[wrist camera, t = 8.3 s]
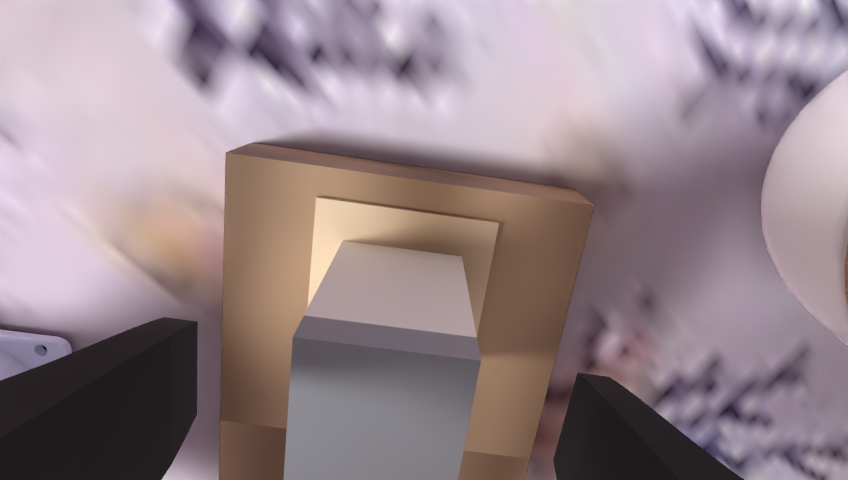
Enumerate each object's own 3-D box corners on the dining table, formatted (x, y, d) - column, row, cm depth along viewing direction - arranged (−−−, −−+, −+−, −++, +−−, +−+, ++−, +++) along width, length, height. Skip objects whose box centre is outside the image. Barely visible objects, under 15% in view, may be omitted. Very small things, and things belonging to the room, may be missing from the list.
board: (237, 522, 24) (215, 575, 21) (251, 142, 18) (223, 153, 16) (487, 551, 24) (494, 606, 22) (573, 188, 19) (596, 206, 16)
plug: (332, 346, 18) (282, 488, 12) (342, 240, 17) (293, 336, 11) (444, 360, 18) (452, 507, 12) (461, 256, 17) (481, 360, 11)
